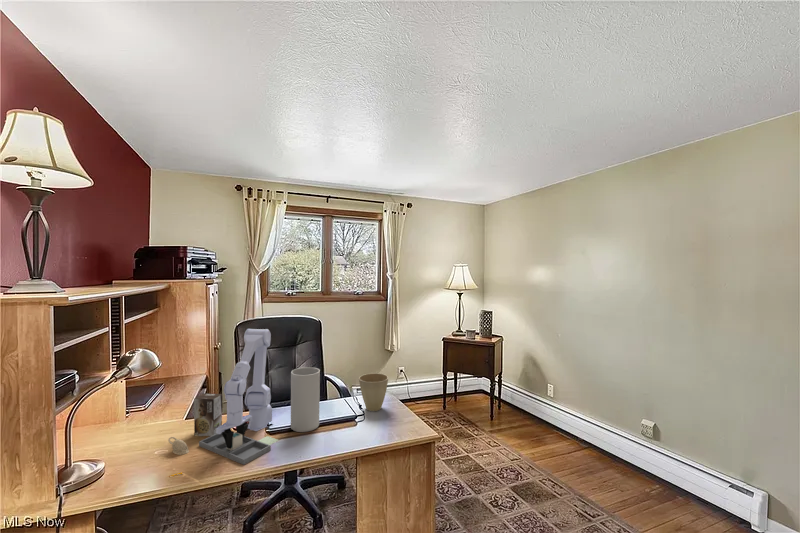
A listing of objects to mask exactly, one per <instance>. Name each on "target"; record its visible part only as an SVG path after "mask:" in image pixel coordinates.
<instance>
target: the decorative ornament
mask: <svg viewBox="0 0 800 533" xmlns="http://www.w3.org/2000/svg"><path fill="white" fill-rule="evenodd" d="M171 439H173V440H174V441H173V442H172V441H171ZM167 441H168V443H169V444H170V445H171V449H172V453H173V454H174V455H179V456H180V455H185V454H188V453H190V450H189V447H188V445H187V443H186V442H185V441H184V440H182V439H179V438H177V437H175V436H171V437H169V438H168V440H167Z"/></svg>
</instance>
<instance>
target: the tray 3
mask: <svg viewBox="0 0 800 533" xmlns="http://www.w3.org/2000/svg"><path fill="white" fill-rule="evenodd" d="M271 446H272V444H271V445H268V444H265V443H263V442H260V441H258V440H257V439H254V441H252V442H250V443H248V444H246V445H244V446H242V447H240V448H238V449H236V450H234V451H232V452H230V453H228V458H227V459H229V460H231V461H234V462H236V463H239V464H241V465H244V466H245V465H246V464H248V463H250V462H252V461H253V460H255V459H257V458H259V457H261V456H263V455H265V454H267V453H268V452H270V451H271V450H272V447H271Z"/></svg>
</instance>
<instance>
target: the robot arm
mask: <svg viewBox="0 0 800 533" xmlns="http://www.w3.org/2000/svg"><path fill="white" fill-rule="evenodd" d="M243 335H244V336H243V340H244V348H243V349H242V350H243V351H242V353H241V358H240V360H239V361H238V362H237V363H236V364H235V367H234V369H233V372H232V374H231V376H230V379H229V380H227V381H226V382H225V384H224V388H223V394H224V395H225V396H224V397H225V400H226V422H224V423H222V425H221V426H220V427H218V428H216V433H217V434H222V435H223V437H224V439H225V442H226V446H227V448H232V438H233V434H234V432H235V431H236V432H237V433H240V434H242V441H243V437H244V436H245V435H246V431H247V430H250V431H254V432H258V431H260V430H262V429H265V428H268V426H267V424H268V423H269V422H271V421H272V422H273V408H272V406H271V404H270V403H271V401H272V400H271V399H272V395H271V388H270V387H268V386H267V385H266V384H265V378H266V365H267V352H268V351H267V350H268V348H269V347H270V346H271V339H272V337H271V336H272V334H271V331H270V330H269V329H268V328H265V329H264V328H262V329H261V328H260V329H259V328H258V329H257V328H246V330H245V332H244V334H243ZM253 356H254V360H253V371H252V372H253V375H252V385H251V386H249V387H248V388H247V382H248V381H247V378H248V375H249V372H250V370H251V366H250V362H251V360H252V358H253ZM246 388H247V389H246ZM245 391H246V393H245ZM244 393H245V396H244ZM243 397H244V398H243ZM243 399H244V401H243ZM243 402H244V404H245V406H246V407H247V409H248V414H247V415H244V416H243V414H244V412H243V410H244V408H243V406H244V404H243ZM247 422H249V423H247ZM234 428H235V429H236V430H235V431H234V430H233V431H232V429H234Z"/></svg>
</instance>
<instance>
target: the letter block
mask: <svg viewBox="0 0 800 533" xmlns="http://www.w3.org/2000/svg"><path fill="white" fill-rule="evenodd" d="M234 432H235V433H234V434H233V438H232V448H227V449H229V450H233V449H235V448H238V447H240V446H242V434H240V433H237V431H234Z"/></svg>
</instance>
